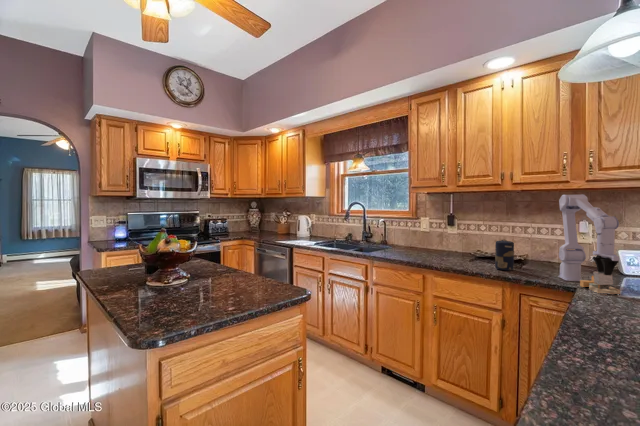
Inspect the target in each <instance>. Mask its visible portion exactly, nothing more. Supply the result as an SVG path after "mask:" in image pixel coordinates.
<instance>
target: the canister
mask: <svg viewBox="0 0 640 426" xmlns="http://www.w3.org/2000/svg"><path fill="white" fill-rule="evenodd" d="M494 255H495V256H494V260H495V263H494V267H495V269H496V270H499V271H500V270H501V271H513V270H514V265H515V264H514V263H515V243H514V242H513V241H512V240H506V239H501V240H496V241H495V253H494Z"/></svg>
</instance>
